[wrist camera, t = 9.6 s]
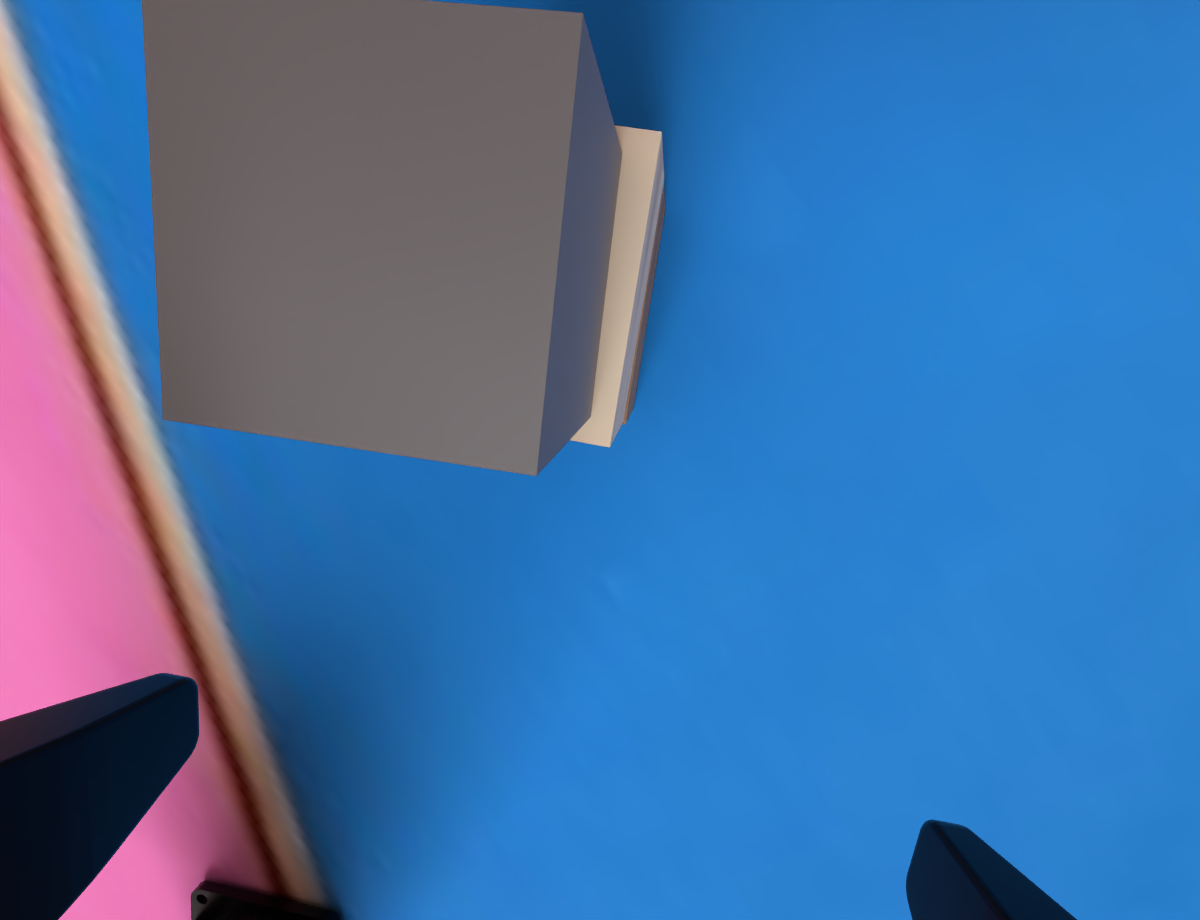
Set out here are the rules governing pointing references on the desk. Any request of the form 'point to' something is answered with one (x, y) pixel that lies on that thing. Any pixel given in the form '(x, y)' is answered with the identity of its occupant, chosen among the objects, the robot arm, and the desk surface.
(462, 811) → the desk surface
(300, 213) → the cube
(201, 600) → the desk surface
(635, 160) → the tower top
